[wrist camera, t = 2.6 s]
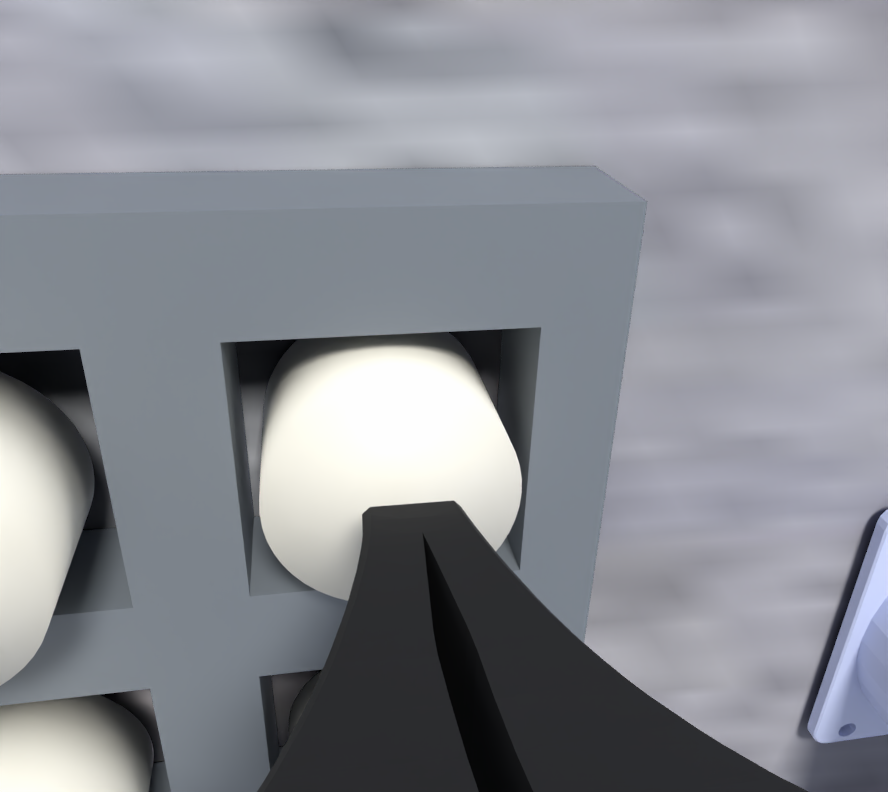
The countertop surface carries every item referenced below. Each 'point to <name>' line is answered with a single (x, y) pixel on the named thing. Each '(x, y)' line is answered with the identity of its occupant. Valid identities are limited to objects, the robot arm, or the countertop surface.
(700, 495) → the countertop surface
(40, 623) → the button
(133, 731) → the button
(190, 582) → the board
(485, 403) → the button
